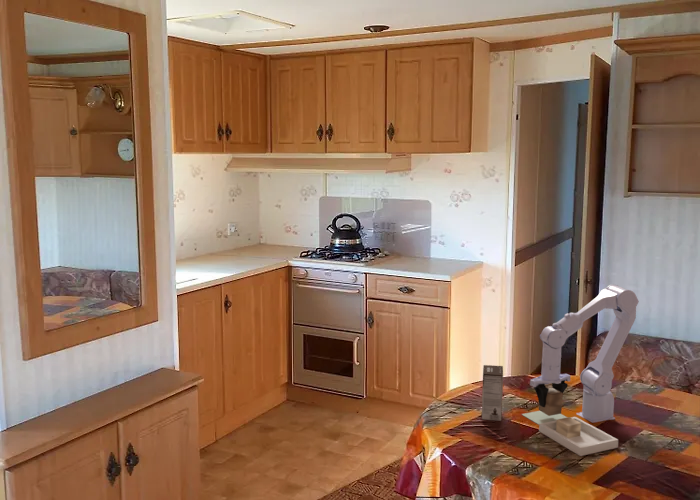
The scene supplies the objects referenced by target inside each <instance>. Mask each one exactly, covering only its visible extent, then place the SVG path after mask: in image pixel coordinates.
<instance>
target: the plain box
mask: <svg viewBox="0 0 700 500" xmlns="http://www.w3.org/2000/svg"><path fill="white" fill-rule="evenodd" d="M566 417H567V418H562V419H557V425H556V432H558V433H560V434H561V435H563V436H565V437H566V438H572V437H576V436H580V433H581V423H580V422H578V421H576V420H574V419H572V418H571V417H569V416H566Z"/></svg>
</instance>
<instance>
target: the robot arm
mask: <svg viewBox="0 0 700 500" xmlns="http://www.w3.org/2000/svg"><path fill="white" fill-rule="evenodd" d="M638 304H639V299H638V296H637V295H636V293H635V292H634V291H632V290H631V289H626V288H624V287H621V286H619V285H618V284H614V283H613V284H609V285H608V286H607V287H605V288H603V289H601V290H600V292H599V293H598V295H597V296H596V297H595V298H593V299H592V300H591V301H590V302H588V303H587V304H586V305H584V306H583V307H582V308H581V309H579V310H578V311H577V312H569V313H565V314H564V316H563V317H562V318H560V319H559V320H558V321H557V322H554V323H552V324H551V325H552V326H551V325H550V326H549V325H548V326H546V327H544V328H543V330H542V331H541V334H539V339H540V341H542V354H541V371H540V372H541V375H539V376H537V377H534V378H532V379H531V378H530V379H529V386H531V387H533V389H534V390H535V393H536V396H537V400H538V406H539V405H540V406H542V407H545V405H546V397H547V393H548V390H549V389H548V388H549V387H546V386H547V385H549V384H551V387H553V388H555V389H557V390H558V391H560V392H562V393H563V394H564V393H565V391H566V389H567V388H568V383H567V382H571V375H570V374H568V373H561V364H562V363H561V362H562V359H561V358H562V347H563V346H564V345H565V343H566V341H567V340H568V339H569V337H570V336H572V335H573V334H575V333H576V332H578V331H579V330H580V329H582V328H583V326H584V322H585V321H587V320H588V319H590V318H592V317H593V316H595V315H597V314H598V313H600V312H601V311H603V310H605V309H607V310H609V309H610V310H612V311H613V313H614V315H615V318H614V320H613V322H612V324H611V327H610V329H609V330H608V333H607V334H606V337H605V339H604V340H603V343H602V345H601V347H600V349H599V351H598V354H597V356H596V357H595V359H594V360H592V361H590V362H589V363H588V365H587V366H586V368H584V369H583V370H582V371H581V373H580V375H579V380H580V383H581V384H582V386H583V387H582V388H583V392H582V406H581V407H582V408H581V411H580V412H576V415H577V416H579V417H581V418H583V419H584V420H587V421H589V422H590V423H593V424H594V423H598V422H603V421H609V420H611V421H612V420H615V419H616V417H614V411H615V410H614V408H615V399H614V398H615V397H614V394H613V393H612V391H611V389H612V386H613V379H614V377H615V375H614V373H613V367H614V364H615V362H616V360H617V358H618V356H619V354H620V352H621V350H622V348H623V346H624V343H625V341H626V339H627V337H628V335H629V333H630V331H631V329H632V327H633V325H634V323H635V321H636V316H637V306H638Z"/></svg>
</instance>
